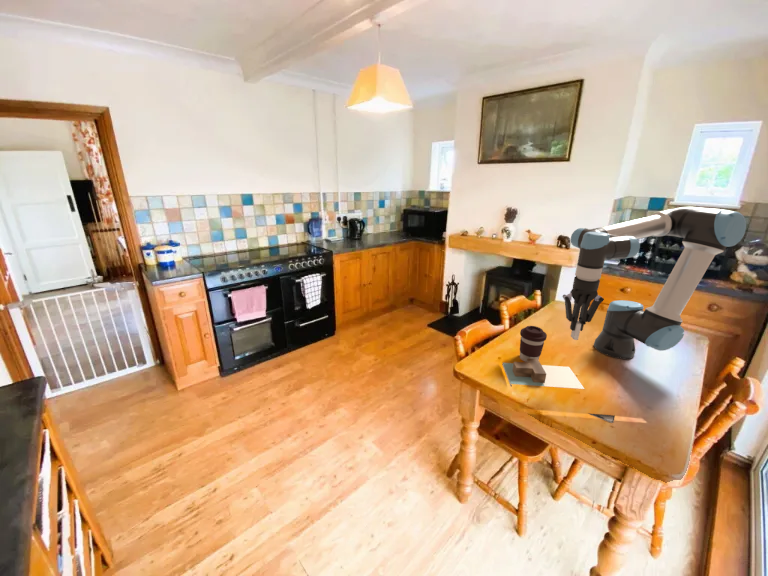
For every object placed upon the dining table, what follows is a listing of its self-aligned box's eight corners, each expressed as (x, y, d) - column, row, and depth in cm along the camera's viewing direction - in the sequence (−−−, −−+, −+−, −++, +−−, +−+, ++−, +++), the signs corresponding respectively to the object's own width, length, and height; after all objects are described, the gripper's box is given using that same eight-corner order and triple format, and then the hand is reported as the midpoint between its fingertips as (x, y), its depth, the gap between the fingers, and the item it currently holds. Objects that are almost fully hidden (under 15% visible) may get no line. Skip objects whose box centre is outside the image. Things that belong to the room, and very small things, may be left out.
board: (568, 369, 131) (569, 366, 131) (584, 391, 118) (584, 388, 118) (502, 365, 134) (502, 362, 134) (510, 386, 121) (511, 383, 121)
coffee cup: (544, 368, 132) (550, 336, 127) (518, 365, 134) (523, 334, 128) (538, 355, 141) (544, 324, 136) (514, 353, 143) (519, 322, 138)
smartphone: (618, 398, 114) (613, 423, 104) (617, 400, 115) (613, 424, 104) (594, 390, 119) (587, 412, 108) (593, 391, 119) (586, 414, 108)
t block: (536, 367, 131) (537, 358, 129) (544, 382, 121) (546, 373, 120) (510, 365, 132) (511, 357, 130) (517, 381, 123) (518, 372, 121)
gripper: (602, 274, 113) (588, 333, 122) (562, 273, 115) (552, 332, 123) (613, 281, 106) (598, 344, 115) (571, 280, 108) (559, 342, 116)
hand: (574, 337), depth 119 cm, fingers closed
